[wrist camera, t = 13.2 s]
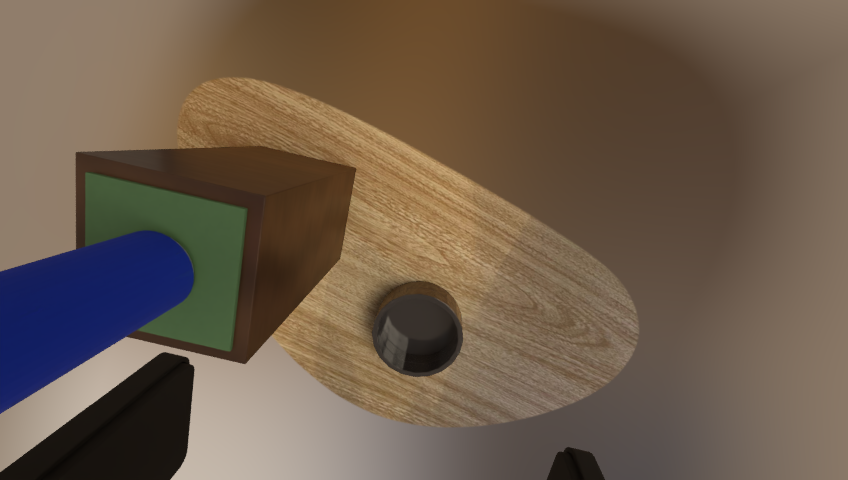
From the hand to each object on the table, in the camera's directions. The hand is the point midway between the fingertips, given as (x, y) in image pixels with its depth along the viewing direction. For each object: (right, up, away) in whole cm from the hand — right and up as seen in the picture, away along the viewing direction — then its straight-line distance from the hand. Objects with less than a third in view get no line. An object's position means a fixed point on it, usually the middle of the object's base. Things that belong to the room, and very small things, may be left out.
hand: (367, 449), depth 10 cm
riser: (-14, +10, +40) cm, 43 cm away
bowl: (+1, -6, +43) cm, 43 cm away
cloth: (-15, +4, +16) cm, 22 cm away
